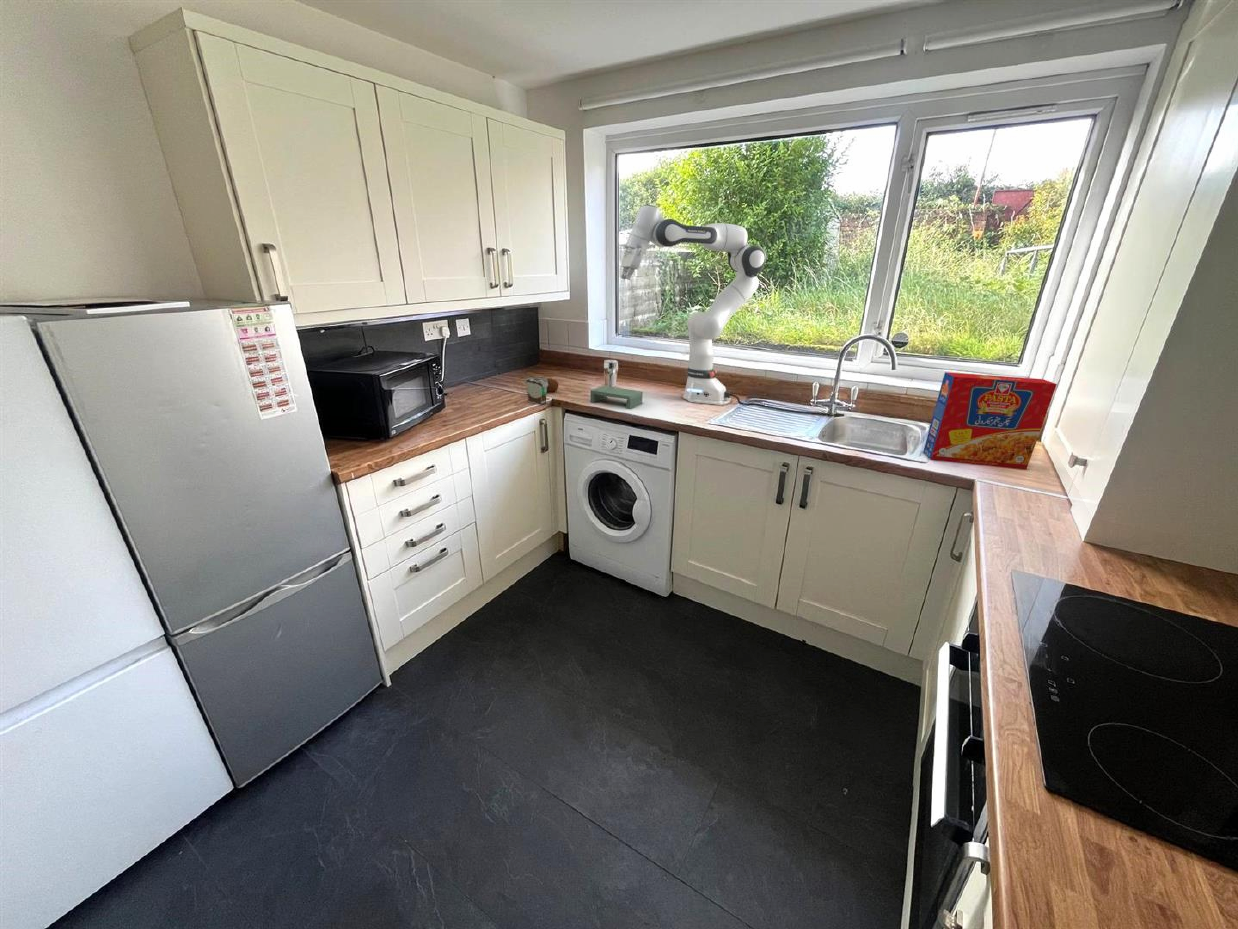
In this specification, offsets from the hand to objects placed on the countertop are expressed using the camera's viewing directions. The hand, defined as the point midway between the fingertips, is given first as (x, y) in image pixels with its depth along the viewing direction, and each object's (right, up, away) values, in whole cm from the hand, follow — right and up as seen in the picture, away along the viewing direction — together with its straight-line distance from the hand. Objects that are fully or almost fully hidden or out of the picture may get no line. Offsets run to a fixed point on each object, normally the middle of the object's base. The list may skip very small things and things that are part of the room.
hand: (625, 279), depth 211 cm
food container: (-37, -51, +9) cm, 64 cm away
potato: (-35, -44, +28) cm, 63 cm away
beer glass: (-7, -43, +32) cm, 54 cm away
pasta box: (+116, -77, -44) cm, 146 cm away
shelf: (-4, -51, +13) cm, 53 cm away
